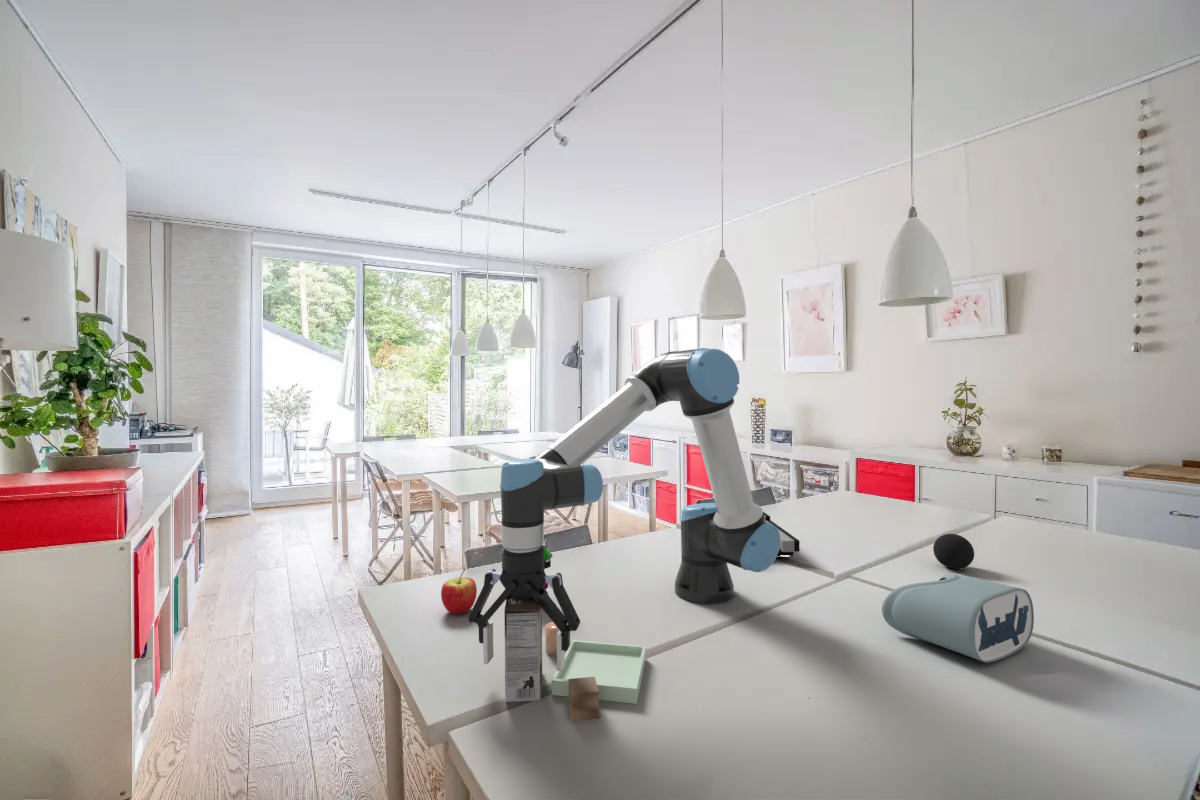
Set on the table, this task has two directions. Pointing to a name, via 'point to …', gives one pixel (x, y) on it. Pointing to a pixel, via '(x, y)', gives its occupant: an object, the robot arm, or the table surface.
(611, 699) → the tray
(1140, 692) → the table surface
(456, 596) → the apple
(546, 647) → the peach rounded cylinder
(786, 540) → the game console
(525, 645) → the coffee box
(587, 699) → the walnut cube
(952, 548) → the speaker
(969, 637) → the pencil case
